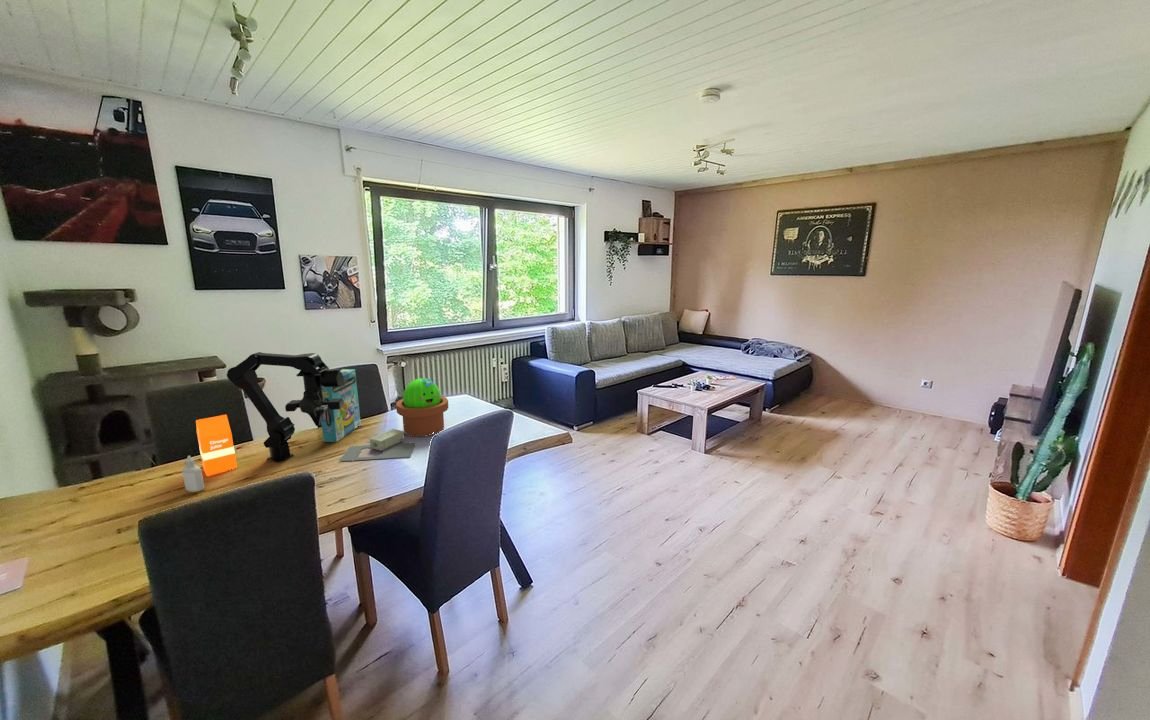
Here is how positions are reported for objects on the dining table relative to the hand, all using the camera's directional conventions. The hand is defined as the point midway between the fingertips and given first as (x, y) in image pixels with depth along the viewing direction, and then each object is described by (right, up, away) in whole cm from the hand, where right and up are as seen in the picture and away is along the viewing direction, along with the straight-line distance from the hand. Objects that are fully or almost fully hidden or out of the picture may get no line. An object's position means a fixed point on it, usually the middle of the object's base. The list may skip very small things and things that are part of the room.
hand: (317, 425), depth 167 cm
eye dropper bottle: (-28, -18, -22) cm, 40 cm away
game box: (-5, -8, +27) cm, 28 cm away
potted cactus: (+30, -7, +32) cm, 44 cm away
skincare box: (+18, -9, +9) cm, 22 cm away
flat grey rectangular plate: (+20, -12, +8) cm, 25 cm away
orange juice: (-31, -15, -8) cm, 35 cm away
